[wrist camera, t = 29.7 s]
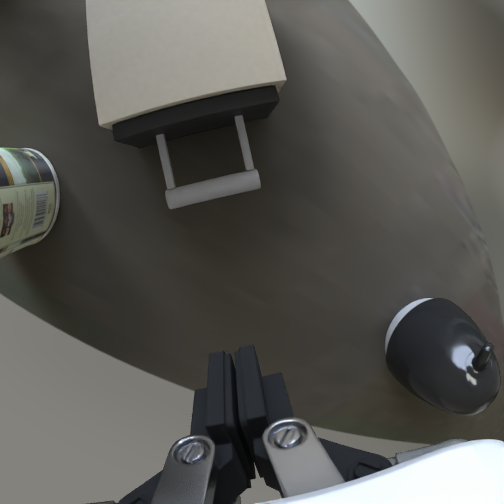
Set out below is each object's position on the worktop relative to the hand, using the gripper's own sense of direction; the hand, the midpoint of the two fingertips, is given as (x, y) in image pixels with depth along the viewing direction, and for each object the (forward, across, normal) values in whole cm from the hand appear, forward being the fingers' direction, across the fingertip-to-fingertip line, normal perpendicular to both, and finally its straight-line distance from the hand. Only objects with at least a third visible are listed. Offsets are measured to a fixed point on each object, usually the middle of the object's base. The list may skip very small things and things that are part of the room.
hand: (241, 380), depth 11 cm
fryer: (+19, 0, -20) cm, 28 cm away
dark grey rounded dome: (+19, -18, +13) cm, 29 cm away
